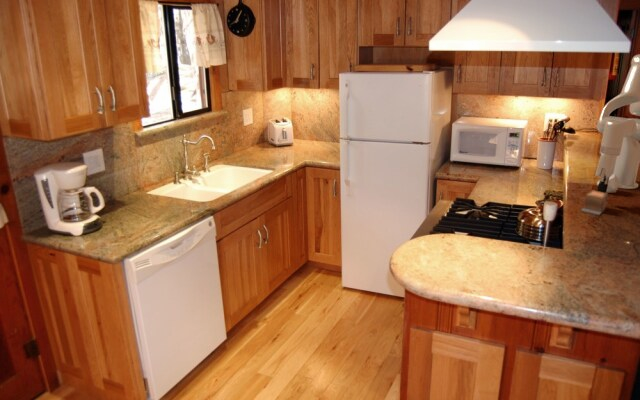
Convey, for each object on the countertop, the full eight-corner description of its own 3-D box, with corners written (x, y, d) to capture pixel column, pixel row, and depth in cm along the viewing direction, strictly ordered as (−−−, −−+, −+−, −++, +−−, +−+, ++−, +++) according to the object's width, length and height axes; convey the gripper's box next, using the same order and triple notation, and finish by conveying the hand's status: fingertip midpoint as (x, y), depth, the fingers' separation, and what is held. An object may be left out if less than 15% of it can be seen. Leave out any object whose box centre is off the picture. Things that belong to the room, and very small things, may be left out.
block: (592, 190, 216) (586, 194, 210) (607, 193, 212) (602, 198, 207) (589, 203, 218) (584, 208, 212) (605, 206, 214) (599, 211, 209)
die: (617, 197, 228) (628, 178, 228) (600, 187, 228) (611, 168, 228) (606, 198, 236) (617, 179, 236) (590, 187, 236) (601, 169, 236)
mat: (587, 204, 218) (587, 203, 217) (605, 208, 213) (605, 207, 213) (580, 211, 211) (580, 210, 210) (599, 215, 206) (599, 214, 206)
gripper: (605, 145, 218) (596, 186, 224) (595, 152, 207) (587, 194, 214) (624, 148, 213) (615, 189, 220) (615, 155, 203) (606, 198, 209)
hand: (601, 192), depth 217 cm, fingers closed
